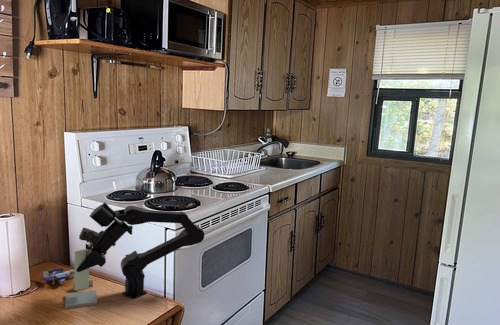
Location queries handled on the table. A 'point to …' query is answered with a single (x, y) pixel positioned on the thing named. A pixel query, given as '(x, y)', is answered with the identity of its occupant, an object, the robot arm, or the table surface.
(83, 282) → the sage green pillar
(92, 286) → the brown block
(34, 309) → the table surface
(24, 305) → the table surface
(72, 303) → the slate tile
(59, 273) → the toy airplane
